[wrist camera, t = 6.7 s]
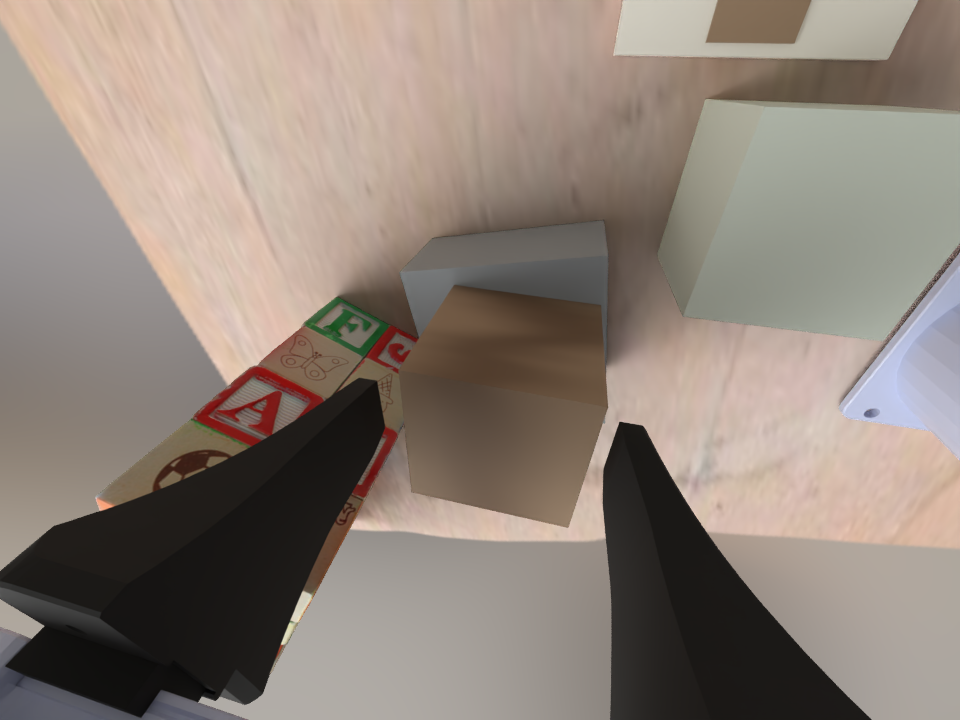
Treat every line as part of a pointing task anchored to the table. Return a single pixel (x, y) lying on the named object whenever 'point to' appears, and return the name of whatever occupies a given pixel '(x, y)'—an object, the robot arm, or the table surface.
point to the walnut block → (505, 402)
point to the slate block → (512, 267)
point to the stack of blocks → (285, 415)
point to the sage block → (813, 214)
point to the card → (762, 28)
